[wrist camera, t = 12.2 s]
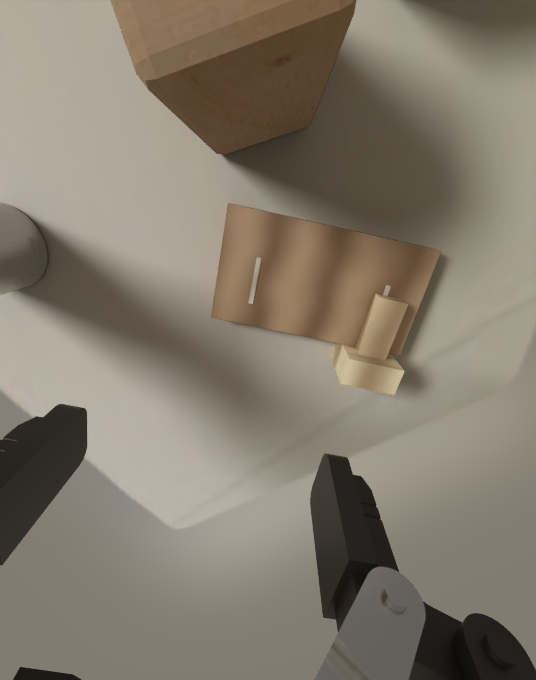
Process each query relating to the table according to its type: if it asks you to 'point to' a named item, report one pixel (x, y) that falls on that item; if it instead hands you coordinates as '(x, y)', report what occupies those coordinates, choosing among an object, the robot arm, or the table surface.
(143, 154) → the table surface
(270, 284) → the oak board
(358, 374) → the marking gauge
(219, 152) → the wooden block
